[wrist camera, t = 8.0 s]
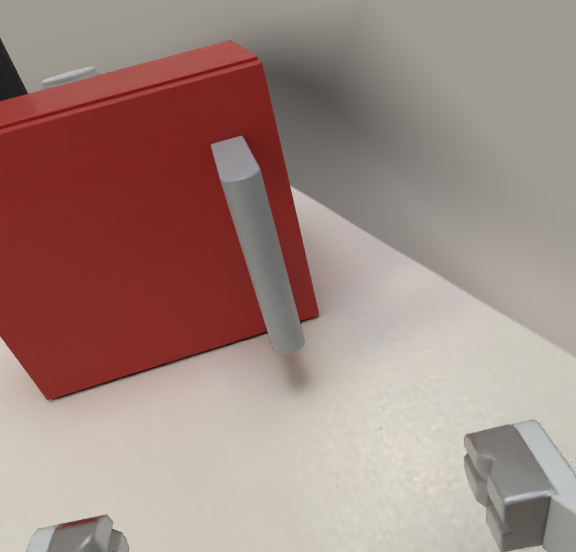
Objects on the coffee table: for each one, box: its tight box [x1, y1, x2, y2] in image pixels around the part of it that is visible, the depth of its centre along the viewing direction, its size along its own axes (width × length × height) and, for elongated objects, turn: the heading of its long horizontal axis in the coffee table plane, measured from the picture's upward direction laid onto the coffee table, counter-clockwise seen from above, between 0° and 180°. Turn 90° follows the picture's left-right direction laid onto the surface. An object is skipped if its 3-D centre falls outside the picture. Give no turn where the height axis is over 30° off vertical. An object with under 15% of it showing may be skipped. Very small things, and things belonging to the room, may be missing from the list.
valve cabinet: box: [0, 40, 258, 129], centre depth 29 cm, size 11×17×15 cm, turn 103°
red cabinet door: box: [0, 60, 319, 400], centre depth 22 cm, size 7×17×15 cm, turn 103°
